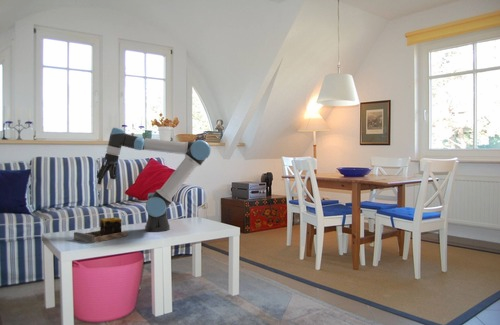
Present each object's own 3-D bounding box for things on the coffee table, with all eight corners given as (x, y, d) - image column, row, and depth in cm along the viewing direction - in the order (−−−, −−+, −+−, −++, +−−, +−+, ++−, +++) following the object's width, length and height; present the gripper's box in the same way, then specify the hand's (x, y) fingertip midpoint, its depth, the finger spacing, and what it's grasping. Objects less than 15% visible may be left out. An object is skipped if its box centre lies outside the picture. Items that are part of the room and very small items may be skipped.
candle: (103, 238, 222) (103, 220, 222) (99, 235, 231) (99, 218, 231) (122, 236, 228) (121, 219, 228) (117, 233, 236) (117, 216, 236)
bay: (109, 232, 238) (108, 226, 238) (126, 235, 229) (126, 229, 229) (73, 239, 219) (73, 232, 219) (92, 243, 210) (91, 235, 210)
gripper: (115, 154, 244) (107, 187, 243) (96, 151, 219) (86, 188, 218) (127, 157, 243) (118, 190, 243) (109, 154, 218) (99, 191, 218)
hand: (103, 189), depth 231 cm, fingers open, 13 cm apart
